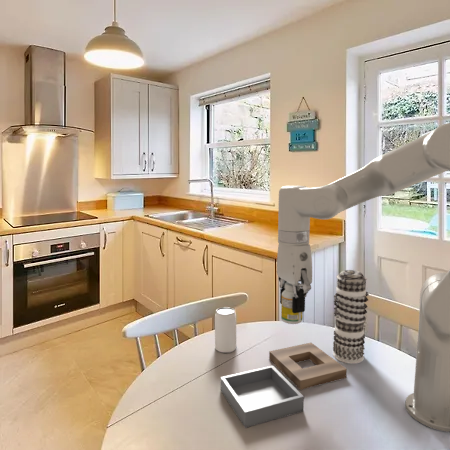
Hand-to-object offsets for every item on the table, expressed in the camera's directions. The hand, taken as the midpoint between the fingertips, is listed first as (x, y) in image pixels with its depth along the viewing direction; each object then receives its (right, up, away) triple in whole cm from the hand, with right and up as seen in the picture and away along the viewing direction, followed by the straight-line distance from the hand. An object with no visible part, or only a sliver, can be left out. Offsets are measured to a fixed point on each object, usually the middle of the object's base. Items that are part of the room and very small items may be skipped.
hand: (292, 306), depth 94 cm
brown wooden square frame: (+5, -18, +8) cm, 21 cm away
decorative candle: (+19, -18, +14) cm, 29 cm away
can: (-17, -17, +20) cm, 31 cm away
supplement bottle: (0, -4, +1) cm, 4 cm away
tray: (-9, -21, -6) cm, 23 cm away
